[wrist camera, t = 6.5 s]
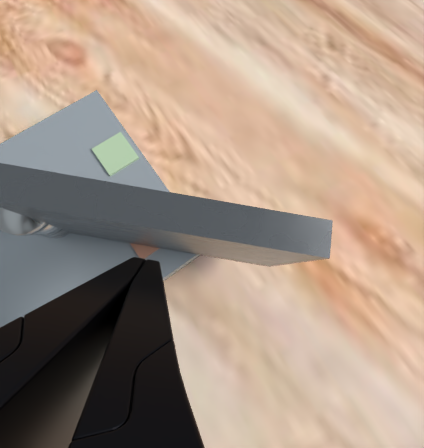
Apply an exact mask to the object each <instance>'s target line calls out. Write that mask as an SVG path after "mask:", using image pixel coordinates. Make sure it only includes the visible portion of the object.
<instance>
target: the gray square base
mask: <svg viewBox="0 0 424 448" xmlns="http://www.w3.org/2000/svg"><path fill="white" fill-rule="evenodd" d="M0 163H4V164H10V165H15V166H21V167H27V168H33V169H38V170H44V171H50V172H56V173H61V174H67V175H73V176H79V177H84V178H90V179H96V180H102V181H107V182H113V183H119V184H125V185H130V186H136V187H142V188H148V189H153V190H159V191H165V192H169V190H168V189H167V188H166V186H165V185H164V183H163V182H162V181H161V179H160V178H159V176H158V175H157V174H156V172H155V171H154V169H153V168H152V167H151V165H150V164H149V162H148V161H147V160H146V158H145V157H144V156H143V154H142V153H141V151H140V150H139V149H138V147H137V146H136V144H135V143H134V142H133V140H132V139H131V137H130V136H129V135H128V133H127V132H126V130H125V129H124V128H123V126H122V125H121V123H120V122H119V121H118V119H117V118H116V116H115V115H114V114H113V112H112V111H111V109H110V108H109V107H108V105H107V104H106V102H105V101H104V100H103V98H102V97H101V95H100V94H99V93H98V91H97V90H96V91H94V92H93V93H91V94H89V95H87V96H85V97H84V98H82V99H80V100H78V101H76V102H75V103H73V104H71V105H69V106H67V107H66V108H64V109H62V110H60V111H59V112H57V113H55V114H53V115H51V116H50V117H48V118H46V119H44V120H42V121H41V122H39V123H37V124H35V125H33V126H32V127H30V128H28V129H26V130H24V131H23V132H21V133H19V134H17V135H15V136H14V137H12V138H10V139H8V140H6V141H5V142H3V143H1V144H0ZM198 256H199V255H197V254H191V253H185V252H180V251H174V250H168V249H162V248H156V247H150V246H144V245H138V244H132V243H126V242H120V241H114V240H108V239H102V238H96V237H90V236H84V235H78V234H74V233H71V232H70V233H69V234H67V235H66V236H63V237H60V238H51V237H48V236H44V235H40V234H33V235H29V236H18V235H13V234H9V233H6V232H3V231H1V230H0V327H2V326H4V325H6V324H7V323H9V322H11V321H13V320H15V319H17V318H19V317H23V318H24V315H25V314H27V313H29V312H31V311H33V310H35V309H37V308H38V307H40V306H42V305H44V304H46V303H48V302H50V301H51V300H53V299H55V298H57V297H59V296H61V295H63V294H65V293H66V292H68V291H70V290H72V289H74V288H76V287H78V286H79V285H81V284H83V283H85V282H87V281H89V280H91V279H93V278H94V277H96V276H98V275H100V274H102V273H104V272H106V271H108V270H109V269H111V268H113V267H115V266H117V265H119V264H121V263H122V262H124V261H126V260H128V259H130V258H132V257H138V258H144V259H145V260H148V259H150V260H156V261H159V262H160V266H161V271H162V277H163V281H164V280H166V279H167V278H169V277H170V276H171V275H173V274H174V273H176V272H177V271H178V270H180V269H181V268H183V267H184V266H185V265H187V264H188V263H190V262H191V261H192V260H194V259H195V258H197V257H198Z"/></svg>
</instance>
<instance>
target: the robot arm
mask: <svg viewBox="0 0 424 448" xmlns="http://www.w3.org/2000/svg"><path fill="white" fill-rule="evenodd" d="M0 448H205V447H204V445H203V442H202V439H201V436H200V433H199V430H198V427H197V424H196V421H195V418H194V415H193V412H192V409H191V406H190V403H189V400H188V397H187V394H186V390H185V387H184V384H183V380H182V377H181V373H180V369H179V364H178V360H177V355H176V350H175V344H174V341H173V334H172V329H171V323H170V317H169V311H168V306H167V300H166V294H165V289H164V283H163V277H162V271H161V266H160V262H159V261H156V260H150V259H148V260H145V259H144V258H138V257H132V258H130V259H128V260H126V261H124V262H122V263H121V264H119V265H117V266H115V267H113V268H111V269H109V270H108V271H106V272H104V273H102V274H100V275H98V276H96V277H94V278H93V279H91V280H89V281H87V282H85V283H83V284H81V285H79V286H78V287H76V288H74V289H72V290H70V291H68V292H66V293H65V294H63V295H61V296H59V297H57V298H55V299H53V300H51V301H50V302H48V303H46V304H44V305H42V306H40V307H38V308H37V309H35V310H33V311H31V312H29V313H27V314H25V315H24V318H23V317H19V318H17V319H15V320H13V321H11V322H9V323H7V324H6V325H4V326H2V327H0Z"/></svg>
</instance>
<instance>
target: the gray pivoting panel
mask: <svg viewBox="0 0 424 448" xmlns="http://www.w3.org/2000/svg"><path fill="white" fill-rule="evenodd" d="M0 230H1V231H3V232H6V233H9V234H13V235H18V236H29V235H33V234H40V235H44V236H48V237H51V238H60V237H63V236H66V235H67V234H69V233H70V232H71V233H74V234H78V235H84V236H90V237H96V238H102V239H108V240H114V241H120V242H126V243H132V244H138V245H144V246H150V247H156V248H162V249H168V250H174V251H180V252H185V253H191V254H197V255H203V256H209V257H215V258H221V259H227V260H233V261H239V262H245V263H251V264H257V265H263V266H269V267H270V266H277V265H284V264H292V263H299V262H307V261H314V260H322V259H329V258H330V247H331V234H332V220H326V219H320V218H315V217H309V216H303V215H297V214H292V213H286V212H280V211H274V210H269V209H263V208H257V207H251V206H246V205H240V204H234V203H228V202H223V201H217V200H211V199H205V198H200V197H194V196H188V195H182V194H177V193H171V192H165V191H159V190H153V189H148V188H142V187H136V186H130V185H125V184H119V183H113V182H107V181H102V180H96V179H90V178H84V177H79V176H73V175H67V174H61V173H56V172H50V171H44V170H38V169H33V168H27V167H21V166H15V165H10V164H4V163H0Z"/></svg>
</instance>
